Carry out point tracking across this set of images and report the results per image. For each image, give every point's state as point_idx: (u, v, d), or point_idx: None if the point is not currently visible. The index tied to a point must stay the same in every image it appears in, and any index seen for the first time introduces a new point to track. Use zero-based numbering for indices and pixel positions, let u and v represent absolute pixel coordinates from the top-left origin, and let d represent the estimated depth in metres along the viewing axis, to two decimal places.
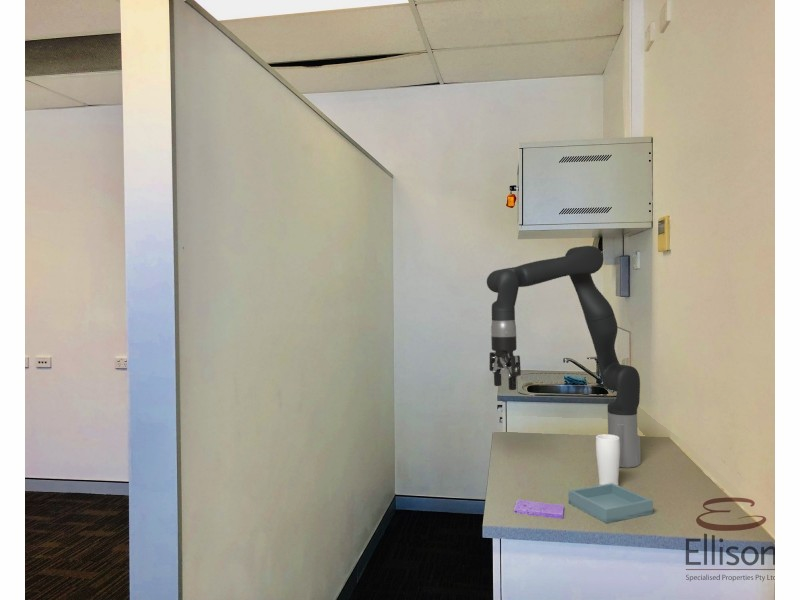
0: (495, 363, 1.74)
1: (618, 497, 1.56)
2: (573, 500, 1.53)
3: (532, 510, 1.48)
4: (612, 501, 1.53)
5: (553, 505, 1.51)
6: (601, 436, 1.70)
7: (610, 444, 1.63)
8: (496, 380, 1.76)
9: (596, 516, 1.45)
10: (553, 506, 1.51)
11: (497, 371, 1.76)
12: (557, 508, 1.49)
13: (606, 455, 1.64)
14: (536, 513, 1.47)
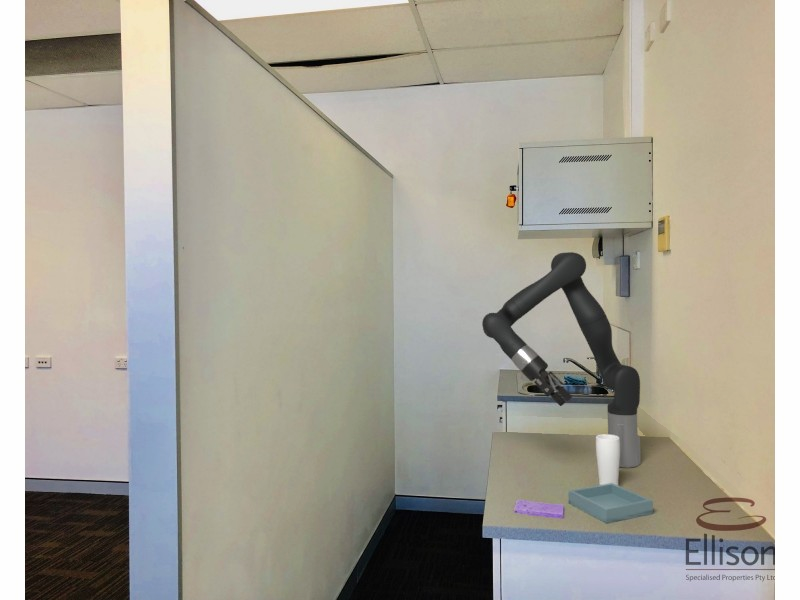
0: None
1: (618, 497, 1.56)
2: (573, 500, 1.53)
3: (532, 510, 1.48)
4: (612, 501, 1.53)
5: (553, 505, 1.51)
6: (601, 436, 1.70)
7: (610, 444, 1.63)
8: (564, 396, 1.77)
9: (596, 516, 1.45)
10: (552, 505, 1.51)
11: (559, 388, 1.77)
12: (557, 508, 1.49)
13: (606, 455, 1.64)
14: (536, 513, 1.47)
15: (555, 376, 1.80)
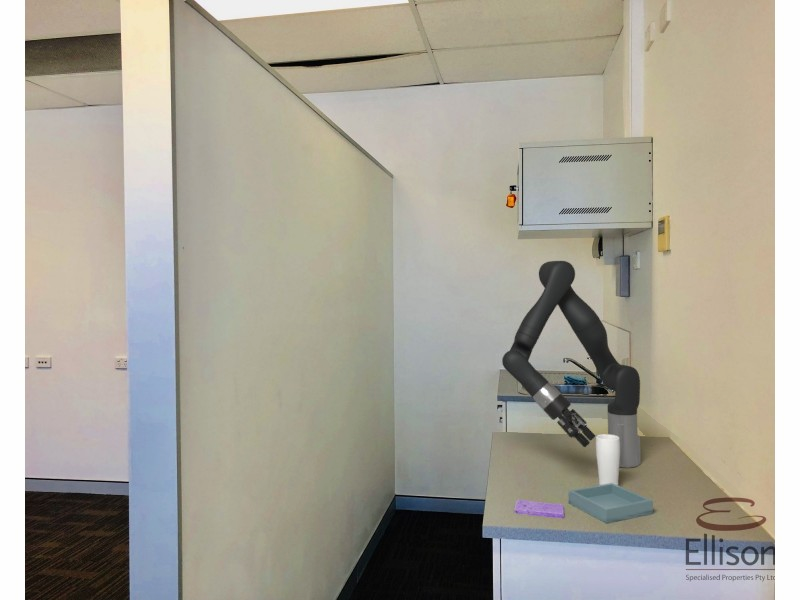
0: None
1: (618, 497, 1.56)
2: (573, 500, 1.53)
3: (533, 510, 1.48)
4: (612, 501, 1.53)
5: (553, 505, 1.51)
6: (601, 436, 1.70)
7: (610, 444, 1.63)
8: (587, 435, 1.73)
9: (596, 516, 1.45)
10: (552, 505, 1.51)
11: (581, 427, 1.74)
12: (557, 508, 1.49)
13: (606, 455, 1.64)
14: (537, 513, 1.47)
15: (577, 414, 1.77)
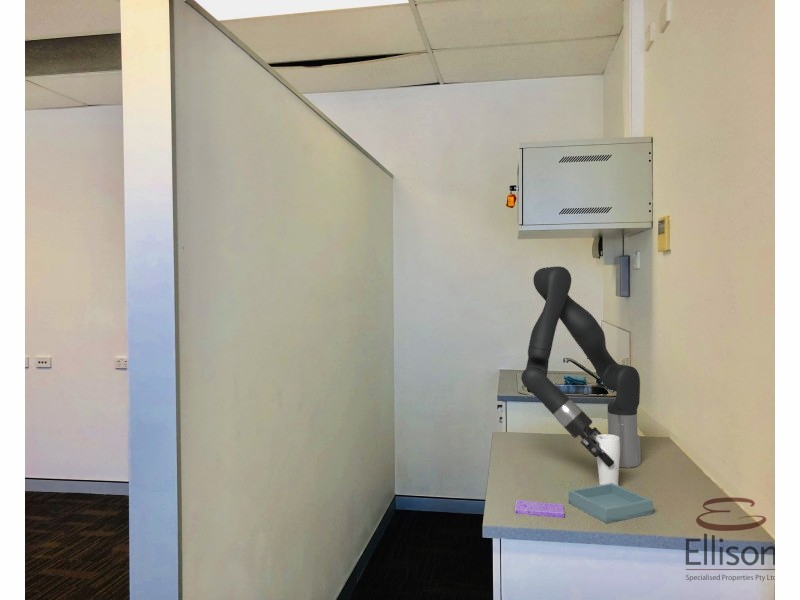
0: None
1: (618, 497, 1.56)
2: (573, 500, 1.53)
3: (533, 510, 1.48)
4: (612, 501, 1.53)
5: (552, 504, 1.51)
6: (601, 436, 1.70)
7: (610, 444, 1.63)
8: None
9: (596, 516, 1.45)
10: (552, 505, 1.51)
11: None
12: (557, 507, 1.49)
13: None
14: (537, 513, 1.47)
15: (599, 432, 1.74)
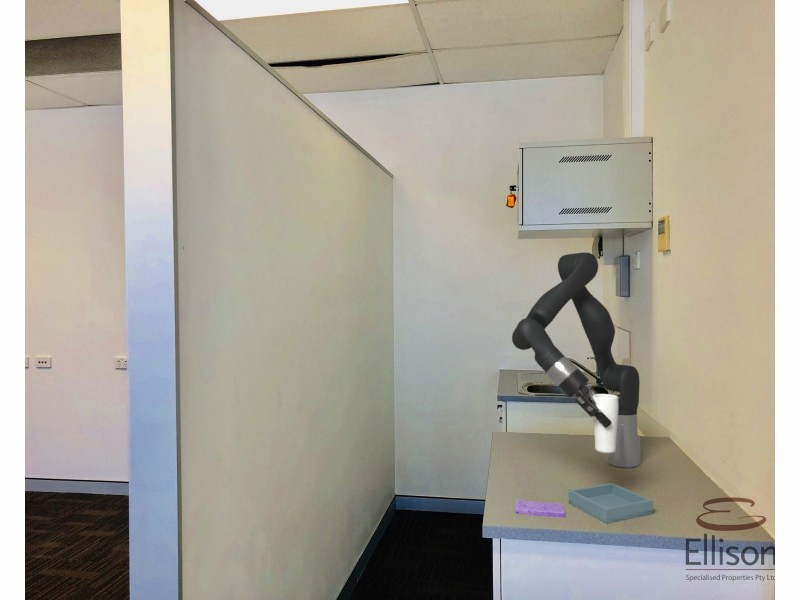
0: None
1: (618, 497, 1.56)
2: (573, 500, 1.53)
3: (534, 510, 1.48)
4: (612, 501, 1.53)
5: (552, 504, 1.52)
6: (598, 395, 1.56)
7: (608, 403, 1.50)
8: None
9: (596, 516, 1.45)
10: (552, 505, 1.51)
11: None
12: (557, 507, 1.50)
13: None
14: (538, 513, 1.47)
15: (597, 393, 1.60)
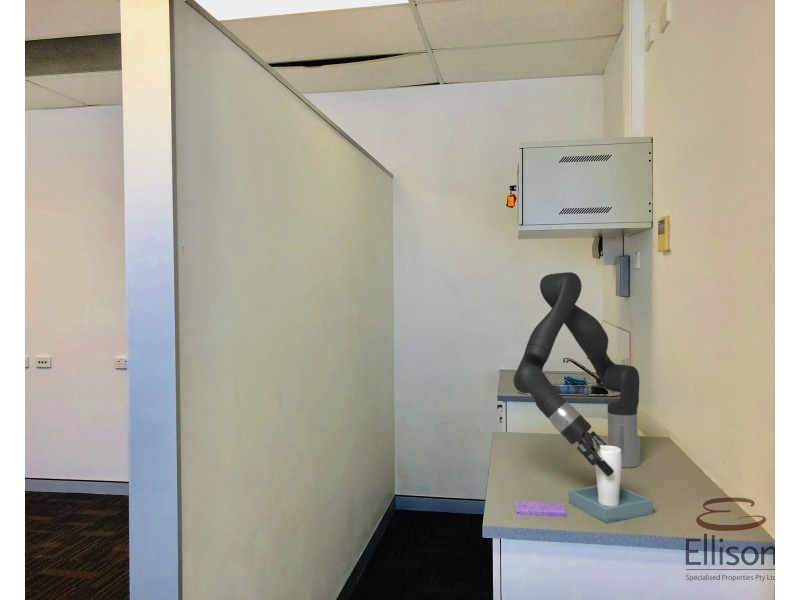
0: None
1: None
2: (573, 500, 1.53)
3: (534, 510, 1.48)
4: None
5: (552, 504, 1.52)
6: (602, 447, 1.54)
7: (611, 457, 1.48)
8: None
9: (596, 516, 1.45)
10: (551, 504, 1.52)
11: None
12: (557, 506, 1.50)
13: None
14: (539, 513, 1.47)
15: (598, 437, 1.58)
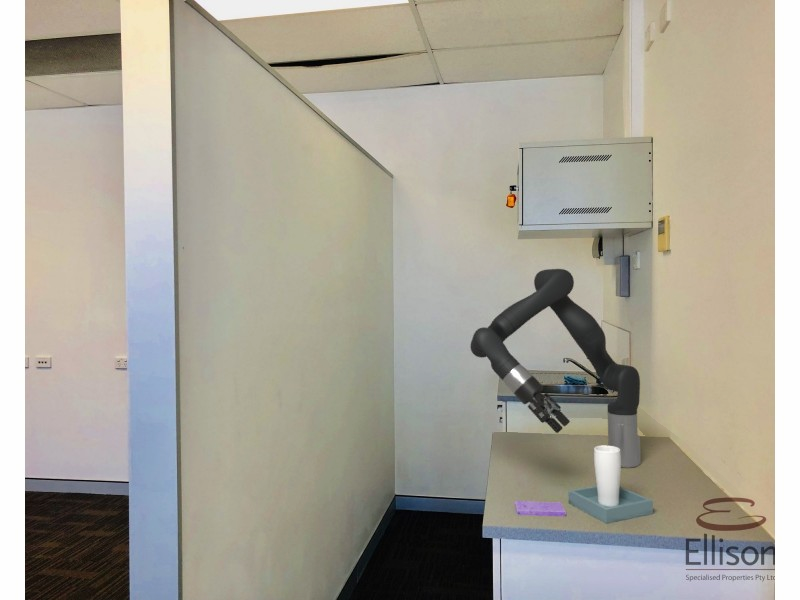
0: None
1: None
2: (573, 500, 1.53)
3: (535, 510, 1.48)
4: None
5: (551, 503, 1.52)
6: (601, 447, 1.54)
7: (609, 457, 1.48)
8: (561, 421, 1.61)
9: (596, 516, 1.45)
10: (551, 504, 1.52)
11: (555, 412, 1.61)
12: (557, 506, 1.50)
13: (605, 469, 1.48)
14: (540, 512, 1.47)
15: (551, 398, 1.64)
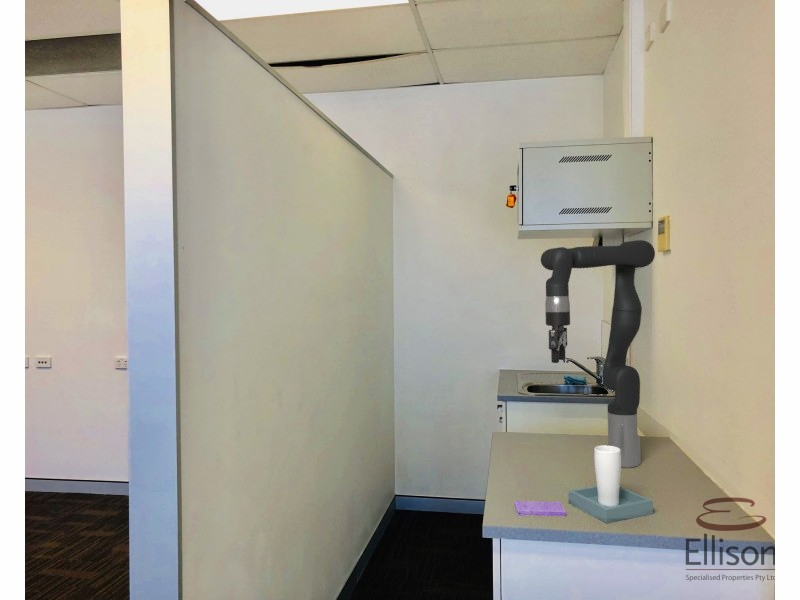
0: None
1: None
2: (573, 500, 1.53)
3: (535, 510, 1.48)
4: None
5: (551, 503, 1.52)
6: (601, 447, 1.54)
7: (610, 457, 1.47)
8: (559, 354, 1.83)
9: (596, 516, 1.45)
10: (551, 504, 1.52)
11: (561, 345, 1.83)
12: (557, 506, 1.51)
13: (605, 469, 1.48)
14: (540, 513, 1.47)
15: (566, 334, 1.85)
